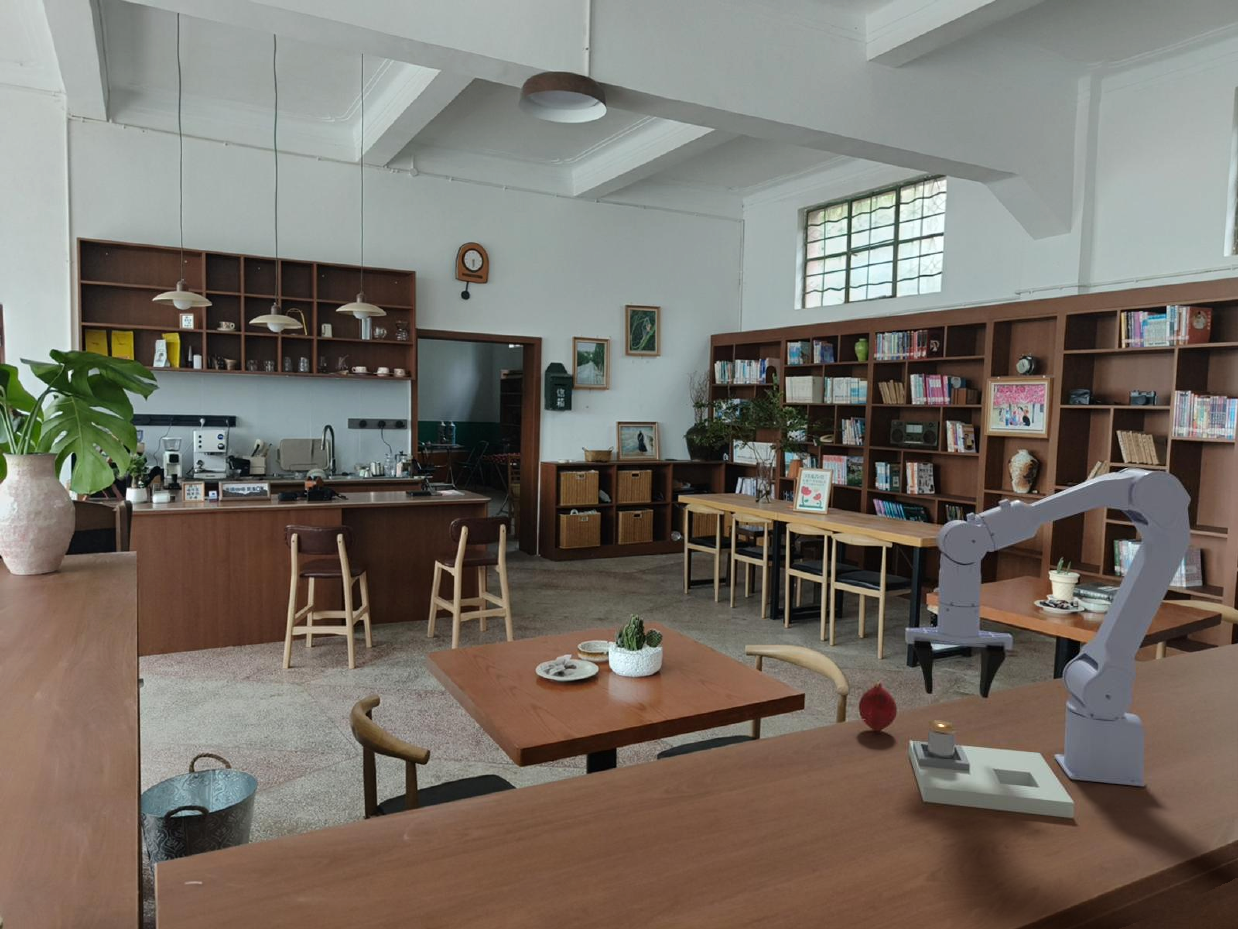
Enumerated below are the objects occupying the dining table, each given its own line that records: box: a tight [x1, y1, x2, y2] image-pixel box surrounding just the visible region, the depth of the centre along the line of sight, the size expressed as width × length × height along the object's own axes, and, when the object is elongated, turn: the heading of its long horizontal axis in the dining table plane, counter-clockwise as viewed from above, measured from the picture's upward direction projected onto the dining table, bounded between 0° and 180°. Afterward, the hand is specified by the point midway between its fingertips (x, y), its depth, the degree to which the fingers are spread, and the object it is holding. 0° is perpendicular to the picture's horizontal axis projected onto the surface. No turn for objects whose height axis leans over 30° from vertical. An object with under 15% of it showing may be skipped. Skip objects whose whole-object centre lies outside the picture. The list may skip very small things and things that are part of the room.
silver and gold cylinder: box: [927, 719, 956, 760], centre depth 117 cm, size 4×4×7 cm
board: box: [908, 740, 1075, 819], centre depth 114 cm, size 18×16×3 cm
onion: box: [858, 681, 898, 732], centre depth 133 cm, size 6×6×8 cm
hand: (956, 693), depth 122 cm, fingers open, 7 cm apart
